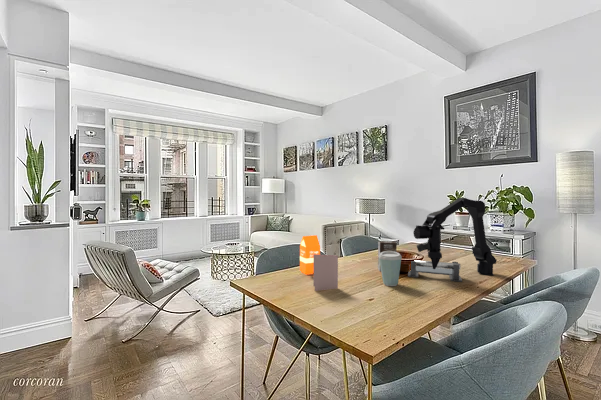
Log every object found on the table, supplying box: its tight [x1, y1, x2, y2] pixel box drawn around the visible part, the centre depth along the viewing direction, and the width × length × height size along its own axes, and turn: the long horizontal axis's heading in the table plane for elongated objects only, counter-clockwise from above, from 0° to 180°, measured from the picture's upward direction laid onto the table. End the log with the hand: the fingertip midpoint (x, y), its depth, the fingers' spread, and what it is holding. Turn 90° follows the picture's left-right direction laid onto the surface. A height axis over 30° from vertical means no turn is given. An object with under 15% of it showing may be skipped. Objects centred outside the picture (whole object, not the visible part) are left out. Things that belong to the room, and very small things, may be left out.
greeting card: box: [313, 254, 339, 292], centre depth 138 cm, size 11×7×15 cm, turn 74°
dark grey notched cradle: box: [407, 261, 463, 283], centre depth 157 cm, size 25×9×8 cm, turn 68°
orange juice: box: [299, 234, 321, 275], centre depth 167 cm, size 8×9×20 cm
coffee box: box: [377, 240, 398, 272], centre depth 171 cm, size 9×6×16 cm
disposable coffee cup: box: [377, 251, 403, 287], centre depth 145 cm, size 11×11×15 cm
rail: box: [414, 259, 461, 271], centre depth 157 cm, size 24×3×3 cm, turn 68°
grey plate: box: [416, 266, 452, 276], centre depth 169 cm, size 24×11×1 cm, turn 68°
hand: (434, 268), depth 157 cm, fingers closed on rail, 3 cm apart
